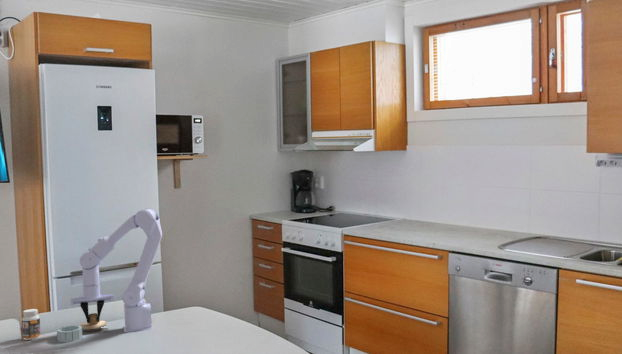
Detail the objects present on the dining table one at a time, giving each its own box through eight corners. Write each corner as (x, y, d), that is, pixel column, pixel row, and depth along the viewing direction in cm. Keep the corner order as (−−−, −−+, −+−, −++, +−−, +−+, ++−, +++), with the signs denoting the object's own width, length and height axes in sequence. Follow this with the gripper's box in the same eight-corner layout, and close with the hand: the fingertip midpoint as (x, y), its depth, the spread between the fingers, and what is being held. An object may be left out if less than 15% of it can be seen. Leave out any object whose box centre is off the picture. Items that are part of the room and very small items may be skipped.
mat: (107, 326, 225) (107, 325, 225) (108, 332, 216) (108, 331, 216) (79, 329, 222) (79, 328, 222) (78, 336, 212) (78, 335, 212)
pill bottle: (33, 341, 209) (32, 312, 209) (19, 340, 210) (17, 312, 210) (44, 336, 214) (42, 308, 214) (29, 335, 216) (28, 308, 215)
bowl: (82, 335, 214) (82, 324, 214) (81, 341, 206) (81, 330, 206) (58, 338, 211) (57, 327, 211) (56, 344, 204) (56, 333, 204)
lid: (106, 321, 224) (106, 310, 224) (106, 327, 216) (106, 315, 216) (80, 324, 222) (80, 312, 222) (79, 330, 213) (79, 318, 213)
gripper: (112, 280, 225) (114, 317, 225) (70, 284, 220) (72, 321, 220) (112, 284, 218) (114, 321, 218) (69, 288, 213) (71, 326, 214)
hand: (93, 322), depth 219 cm, fingers closed on lid, 3 cm apart
